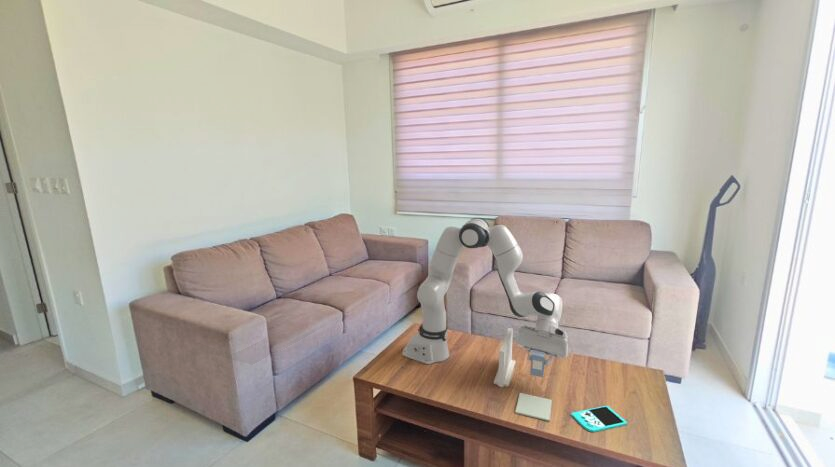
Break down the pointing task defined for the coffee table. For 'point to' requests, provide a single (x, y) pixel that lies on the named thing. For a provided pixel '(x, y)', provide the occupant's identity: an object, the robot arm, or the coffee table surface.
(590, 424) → the handheld game console
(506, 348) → the screen
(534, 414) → the sage mat
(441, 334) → the robot arm
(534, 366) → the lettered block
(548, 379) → the coffee table surface
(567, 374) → the coffee table surface
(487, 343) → the coffee table surface
